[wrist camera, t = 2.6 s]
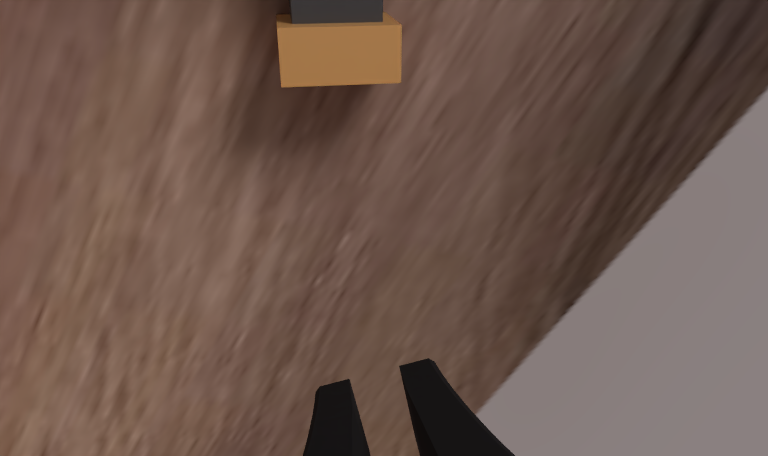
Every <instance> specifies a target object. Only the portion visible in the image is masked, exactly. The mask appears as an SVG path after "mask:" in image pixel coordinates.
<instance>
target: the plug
mask: <svg viewBox="0 0 768 456" xmlns="http://www.w3.org/2000/svg"><path fill="white" fill-rule="evenodd" d="M289 3H290V14H276V19H277V36H278V49H279V63H280V76H281V87H306V86H333V85H359V84H386V83H401V48H402V25H401V24H400V23H399V22H397V21H396V20H395V19H393V18H392V17H391V16H389V15H388V14H387V13H386V12H383V0H289Z"/></svg>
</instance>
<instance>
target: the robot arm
mask: <svg viewBox="0 0 768 456" xmlns="http://www.w3.org/2000/svg"><path fill="white" fill-rule="evenodd" d="M399 367H400V371H401V376H402V380H403V385H404V389H405V394H406V398H407V403H408V407H409V411H410V416H411V420H412V425H413V429H414V434H415V438H416V442H417V446H418V449H419V453H420V456H515V455H514V454H513V453H512V452H510V450H509V449H507V448H506V447H505V446H504V445H503V444H502V443H501V442H500V441H499V440H498V439H497V438H496V437H495V436H494V435H493V434H492V433H491V432H490V431H489V430H488V428H487V427H486V426H485V425H484V424H483V423H482V422H481V421H480V420H479V419H478V418H477V417H476V415H475V414H474V413H473V412H472V411H471V410H470V409H469V408H468V406H467V405H466V404H465V403H464V402H463V401H462V399H461V398H460V397H459V396H458V394H457V393H456V392H455V391H454V389H453V388H452V387H451V386H450V384H449V383H448V382H447V380H446V379H445V377H444V376H443V375H442V373H441V372H440V370H439V368H438V367H437V365H436V363H435V362H434V361H432V360H431V359H429V358H428V359H424V360H420V361H417V362H413V363H409V364H405V365H401V366H399ZM303 456H370V452H369V448H368V444H367V441H366V437H365V433H364V430H363V426H362V423H361V419H360V415H359V412H358V408H357V405H356V401H355V398H354V394H353V390H352V387H351V383H350V380H349V379H347V380H343V381H339V382H336V383H332V384H328V385H324V386H320V387H319V388H318V390H317V391H316V394H315V403H314V410H313V415H312V420H311V425H310V430H309V434H308V438H307V442H306V446H305V450H304V453H303Z"/></svg>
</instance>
